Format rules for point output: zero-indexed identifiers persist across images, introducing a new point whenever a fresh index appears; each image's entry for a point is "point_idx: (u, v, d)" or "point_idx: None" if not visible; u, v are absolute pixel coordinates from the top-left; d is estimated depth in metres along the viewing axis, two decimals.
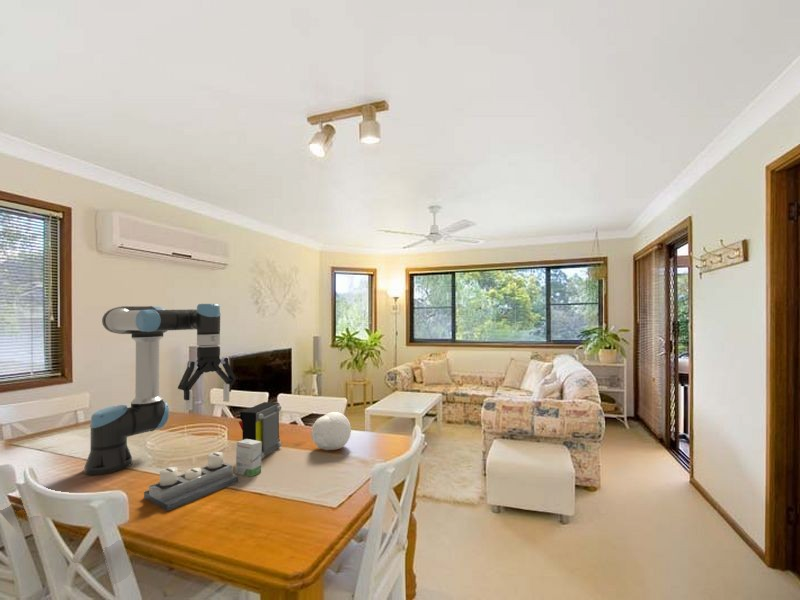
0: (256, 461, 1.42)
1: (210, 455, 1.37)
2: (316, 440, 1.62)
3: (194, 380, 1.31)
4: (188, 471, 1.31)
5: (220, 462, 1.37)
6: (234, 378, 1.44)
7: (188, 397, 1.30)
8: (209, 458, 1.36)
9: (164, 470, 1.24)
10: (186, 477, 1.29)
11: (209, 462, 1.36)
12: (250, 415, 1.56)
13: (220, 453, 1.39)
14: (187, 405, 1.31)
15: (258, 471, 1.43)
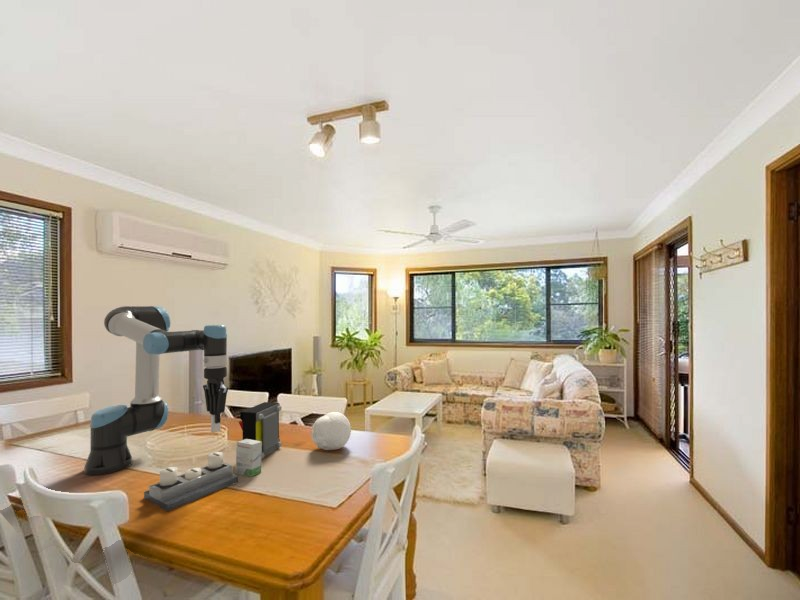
0: (256, 461, 1.42)
1: (210, 455, 1.37)
2: (316, 440, 1.62)
3: (210, 402, 1.38)
4: (188, 471, 1.31)
5: (220, 462, 1.37)
6: (217, 410, 1.36)
7: None
8: (209, 458, 1.36)
9: (164, 470, 1.24)
10: (186, 477, 1.29)
11: (209, 462, 1.36)
12: (250, 415, 1.56)
13: (220, 453, 1.39)
14: None
15: (258, 471, 1.43)
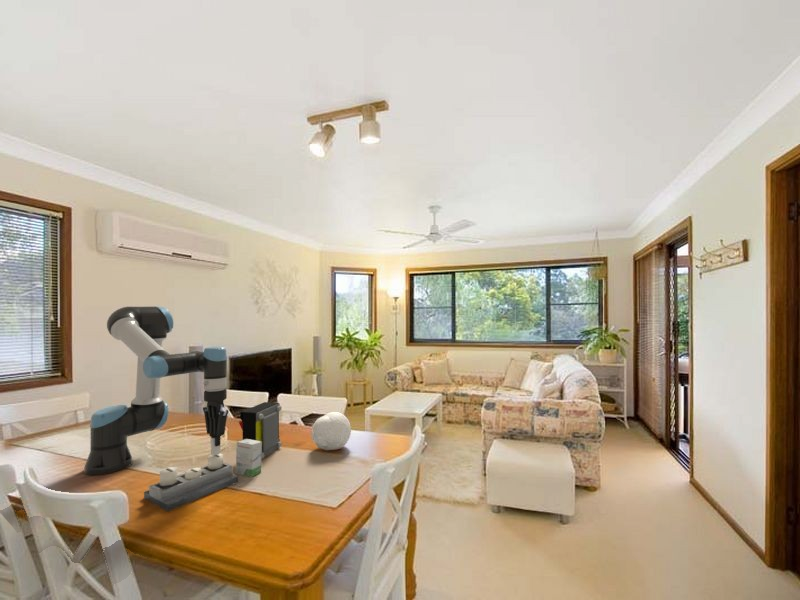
0: (256, 461, 1.42)
1: (210, 456, 1.37)
2: (316, 440, 1.62)
3: (210, 425, 1.38)
4: (188, 471, 1.31)
5: (221, 464, 1.37)
6: (217, 433, 1.35)
7: None
8: (209, 459, 1.36)
9: (164, 470, 1.24)
10: (186, 477, 1.29)
11: (209, 463, 1.36)
12: (250, 415, 1.56)
13: (220, 454, 1.39)
14: None
15: (258, 471, 1.43)
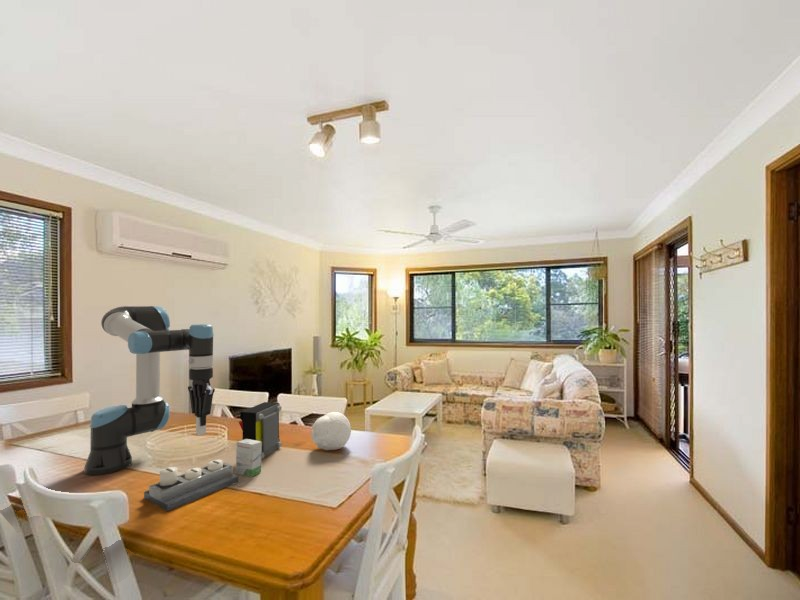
0: (256, 461, 1.42)
1: (210, 463, 1.37)
2: (316, 440, 1.62)
3: (195, 404, 1.34)
4: (188, 471, 1.31)
5: None
6: (202, 413, 1.31)
7: None
8: (209, 466, 1.36)
9: (164, 470, 1.24)
10: (186, 477, 1.29)
11: (209, 470, 1.36)
12: (250, 415, 1.56)
13: (220, 461, 1.39)
14: None
15: (258, 471, 1.43)
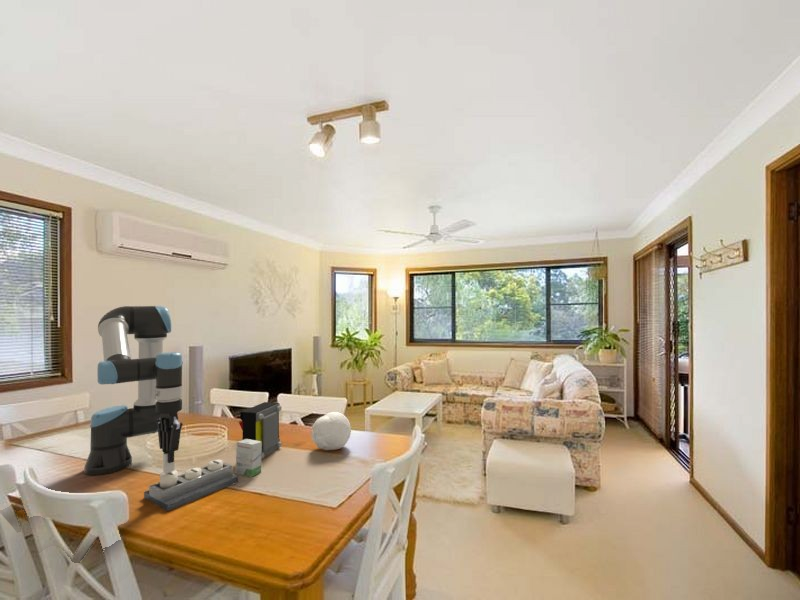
0: (256, 461, 1.42)
1: (210, 463, 1.37)
2: (316, 440, 1.62)
3: (163, 439, 1.25)
4: (188, 471, 1.31)
5: None
6: (169, 449, 1.22)
7: None
8: (209, 466, 1.36)
9: (164, 473, 1.24)
10: (186, 477, 1.29)
11: (209, 470, 1.36)
12: (250, 415, 1.56)
13: (220, 461, 1.39)
14: None
15: (258, 471, 1.43)
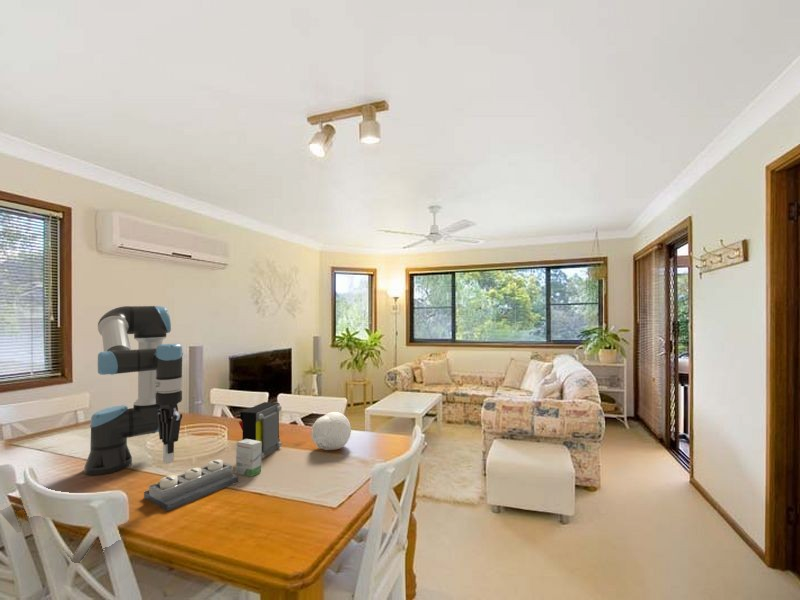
0: (256, 461, 1.42)
1: (210, 463, 1.37)
2: (316, 440, 1.62)
3: (162, 430, 1.25)
4: (188, 471, 1.31)
5: None
6: (169, 440, 1.22)
7: None
8: (209, 466, 1.36)
9: (164, 479, 1.24)
10: (186, 477, 1.29)
11: (209, 470, 1.36)
12: (250, 415, 1.56)
13: (220, 461, 1.39)
14: None
15: (258, 471, 1.43)
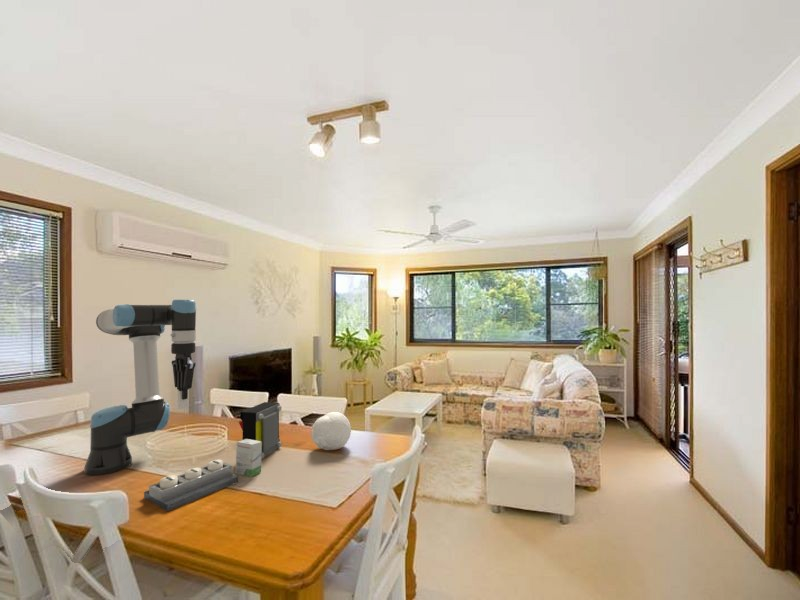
0: (256, 461, 1.42)
1: (210, 463, 1.37)
2: (316, 440, 1.62)
3: (177, 378, 1.36)
4: (188, 471, 1.31)
5: None
6: (183, 386, 1.33)
7: None
8: (209, 466, 1.36)
9: (164, 479, 1.24)
10: (186, 477, 1.29)
11: (209, 470, 1.36)
12: (250, 415, 1.56)
13: (220, 461, 1.39)
14: None
15: (258, 471, 1.43)
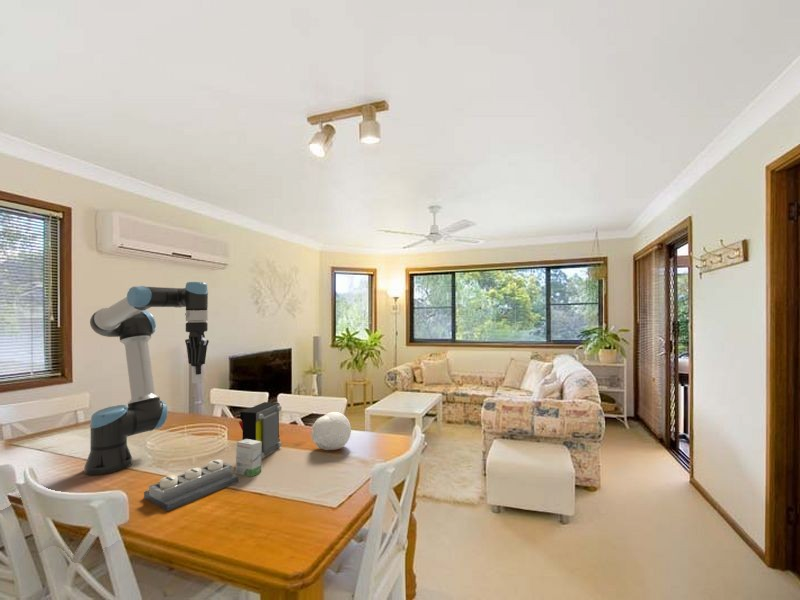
0: (256, 461, 1.42)
1: (210, 463, 1.37)
2: (316, 440, 1.62)
3: (191, 355, 1.46)
4: (188, 471, 1.31)
5: None
6: (197, 362, 1.43)
7: None
8: (209, 466, 1.36)
9: (164, 479, 1.24)
10: (186, 477, 1.29)
11: (209, 470, 1.36)
12: (250, 415, 1.56)
13: (220, 461, 1.39)
14: None
15: (258, 471, 1.43)
